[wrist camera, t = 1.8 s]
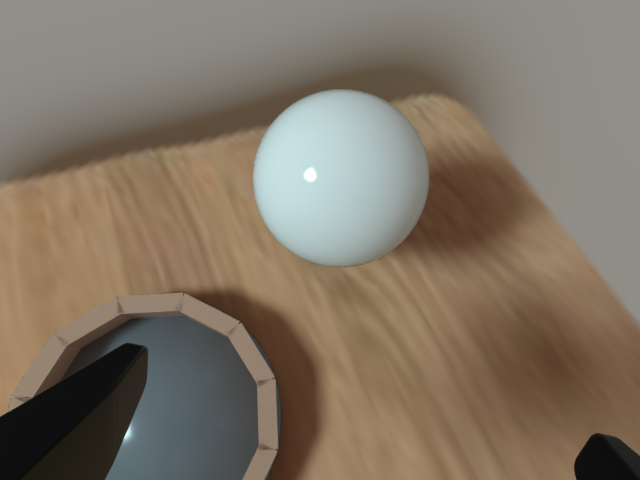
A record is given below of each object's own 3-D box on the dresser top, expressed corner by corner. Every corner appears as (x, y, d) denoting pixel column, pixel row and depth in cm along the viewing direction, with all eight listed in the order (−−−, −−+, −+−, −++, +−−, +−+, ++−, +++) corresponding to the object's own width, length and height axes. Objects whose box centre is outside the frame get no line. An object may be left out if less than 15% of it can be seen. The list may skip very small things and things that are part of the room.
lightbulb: (328, 167, 26) (364, 17, 15) (403, 254, 24) (498, 155, 14) (234, 233, 24) (204, 114, 14) (311, 329, 23) (342, 280, 12)
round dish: (98, 628, 18) (76, 657, 16) (-17, 385, 21) (-47, 385, 19) (327, 454, 21) (332, 461, 19) (204, 256, 23) (198, 244, 21)
